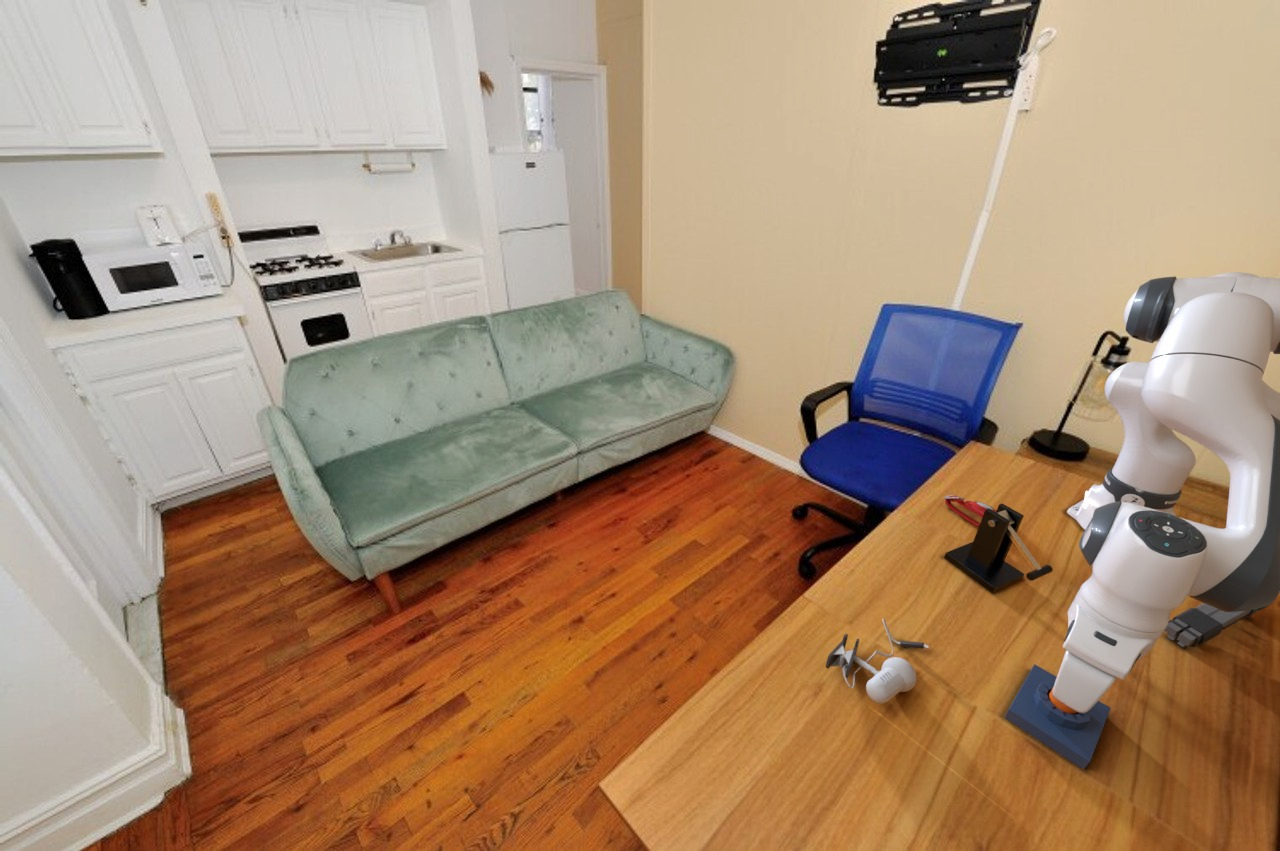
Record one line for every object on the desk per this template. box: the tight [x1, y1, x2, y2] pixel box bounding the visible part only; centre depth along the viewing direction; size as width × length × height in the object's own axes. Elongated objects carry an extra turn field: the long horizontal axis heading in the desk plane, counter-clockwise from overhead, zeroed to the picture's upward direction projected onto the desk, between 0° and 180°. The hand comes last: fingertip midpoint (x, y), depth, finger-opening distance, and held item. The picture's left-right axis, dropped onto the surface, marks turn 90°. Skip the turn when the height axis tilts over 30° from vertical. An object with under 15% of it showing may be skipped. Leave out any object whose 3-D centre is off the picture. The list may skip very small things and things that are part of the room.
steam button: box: [1049, 688, 1077, 714], centre depth 76 cm, size 4×4×2 cm
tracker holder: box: [942, 494, 997, 527], centre depth 121 cm, size 12×4×10 cm
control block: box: [1004, 663, 1112, 770], centre depth 77 cm, size 12×10×4 cm
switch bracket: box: [943, 503, 1026, 594], centre depth 103 cm, size 11×9×15 cm
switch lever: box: [998, 510, 1054, 582], centre depth 98 cm, size 13×6×2 cm
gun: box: [1163, 602, 1268, 648], centre depth 91 cm, size 4×20×10 cm, turn 109°
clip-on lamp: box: [825, 617, 930, 705], centre depth 85 cm, size 12×6×18 cm
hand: (1073, 685), depth 75 cm, fingers closed
